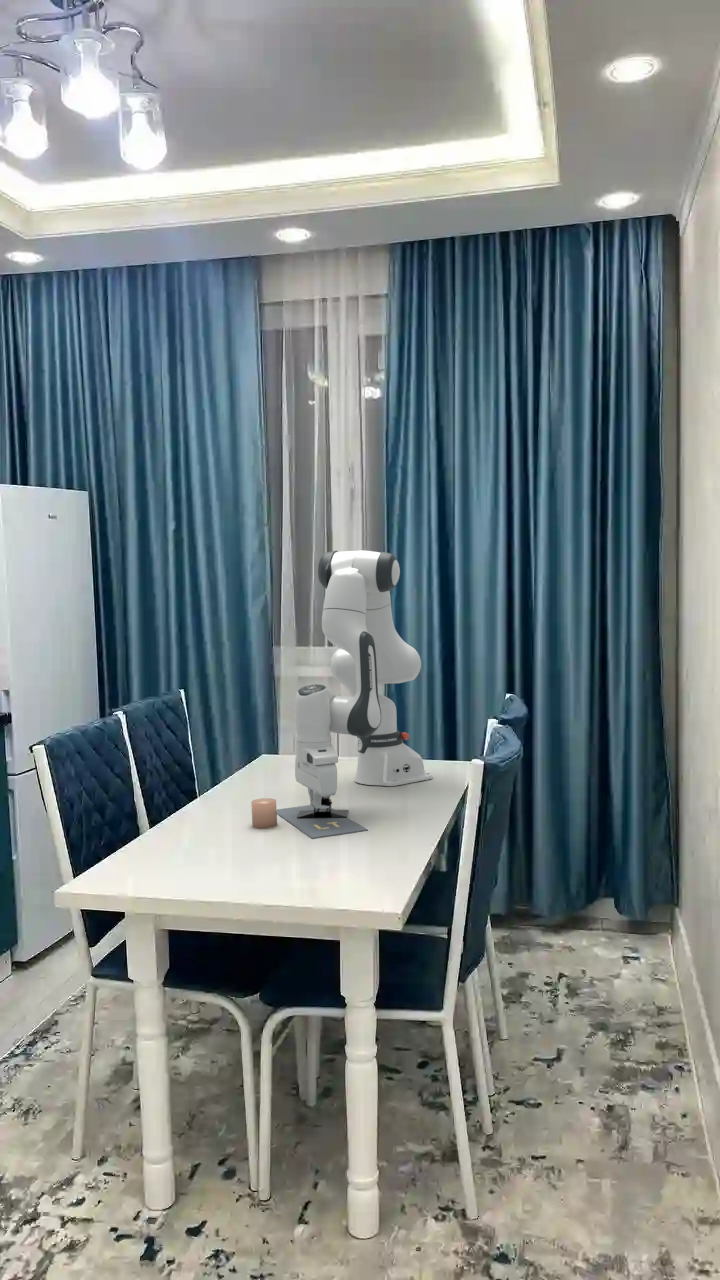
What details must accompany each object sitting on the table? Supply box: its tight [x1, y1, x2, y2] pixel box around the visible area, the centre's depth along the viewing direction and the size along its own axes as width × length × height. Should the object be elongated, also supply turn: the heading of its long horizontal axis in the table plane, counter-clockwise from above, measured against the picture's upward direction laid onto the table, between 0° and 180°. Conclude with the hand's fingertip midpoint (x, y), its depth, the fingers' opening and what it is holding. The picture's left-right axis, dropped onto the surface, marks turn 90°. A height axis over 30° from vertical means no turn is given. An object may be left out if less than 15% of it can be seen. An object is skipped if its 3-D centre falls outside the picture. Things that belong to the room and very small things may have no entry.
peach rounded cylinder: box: [250, 797, 278, 830], centre depth 244 cm, size 6×6×6 cm
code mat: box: [276, 804, 368, 840], centre depth 247 cm, size 14×29×1 cm, turn 23°
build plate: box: [297, 796, 350, 819], centre depth 251 cm, size 12×7×5 cm, turn 86°
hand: (315, 806), depth 248 cm, fingers closed
